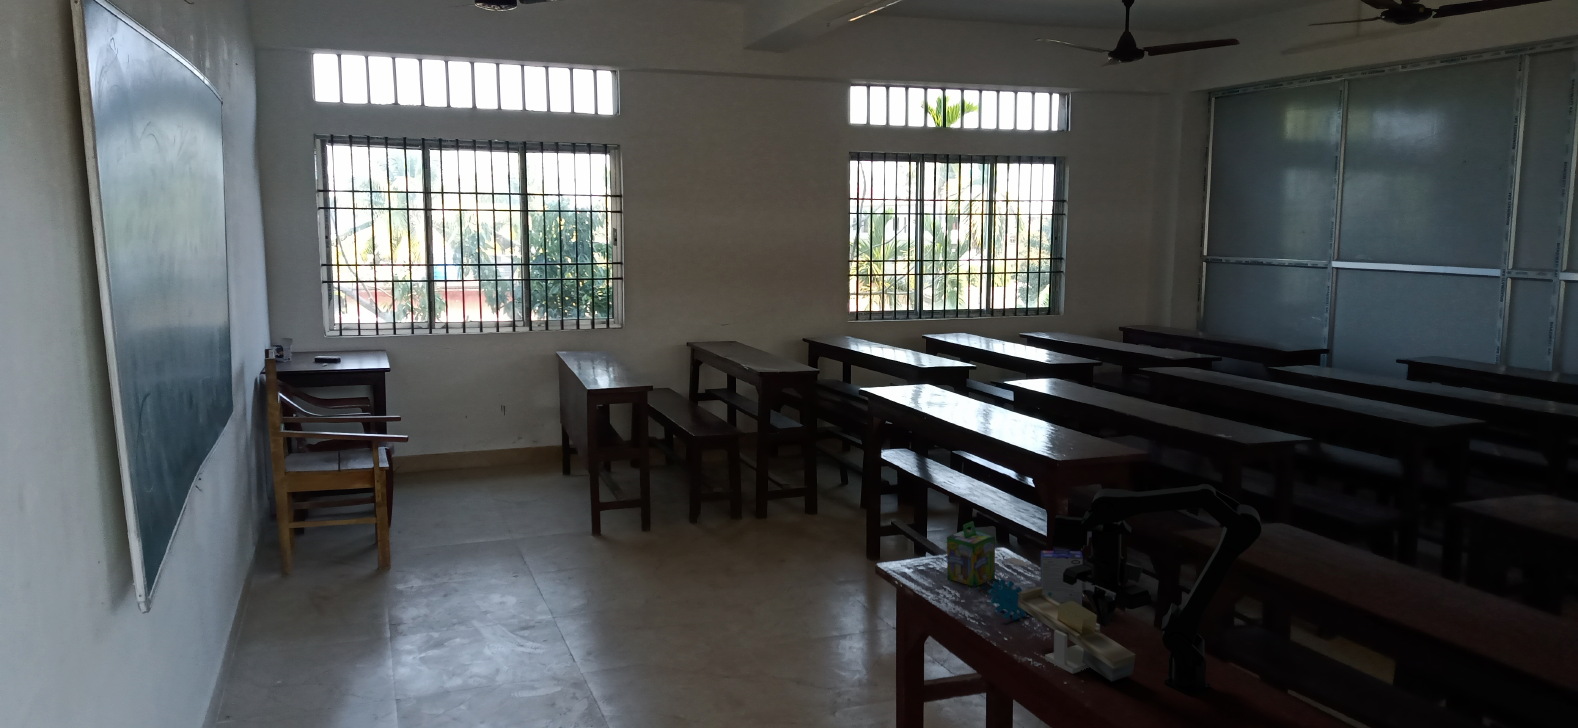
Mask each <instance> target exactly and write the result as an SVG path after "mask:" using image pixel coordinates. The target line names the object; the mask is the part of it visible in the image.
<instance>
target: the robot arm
mask: <svg viewBox="0 0 1578 728" xmlns="http://www.w3.org/2000/svg"><path fill="white" fill-rule="evenodd" d="M1197 509H1202V510H1204V511H1205V512H1207V514H1208V515H1210V516H1211V517H1213V519H1215V520H1216V521H1217V523H1219V524H1220V525H1221V526H1222V527H1223V529H1222V532H1221V534H1220V538H1219V539H1220V540H1219V542H1218V545H1217V546H1216V548H1215V549H1214V551H1213V552H1212V555H1211V556H1210V558H1209V559H1208V561H1207V563H1205V566H1204V568H1203V570H1202V571H1201V573H1200V575H1199V577H1198V578H1197V580H1196V581H1195V583H1194V585H1193V586H1192V588H1191V590H1190V591H1189V593H1188V595H1187V597H1186V598H1185V600H1184V601H1183V602H1182V603H1181V604H1179V605H1177V604H1175V603H1174V602H1171V604H1170V606H1169V609H1168V612H1167V613H1166V614H1165V615H1163V617H1162V622H1161V628H1160V629H1161V631H1162V637H1161V640H1162V644H1163V646H1164V647H1165V648H1166V649H1167V650H1168V651H1169V655H1170V656H1169V657H1168V665H1167V666H1168V667H1167V671H1168V672H1167V677H1168V678H1165V679H1164V680H1163V683H1164V684H1166V685H1167V686H1169V687H1172V688H1173V689H1175V690H1178V691H1180V692H1182V693H1184V694H1186V695H1189V696H1191V695H1194V694H1196V693H1197V694H1198V693H1199V692H1202V691H1204V690H1207V689H1209V688H1210V689H1211V688H1212V684H1211V683H1209V682H1207V661H1208V660H1207V659H1206V658H1205V639H1204V638H1203V637H1202V636H1201V635H1200V634H1199V633H1198V631H1199V628H1200V624H1201V621H1202V618H1203V615H1204V614H1205V612H1206V611H1207V609H1208V607H1209V605H1210V604H1211V602H1212V600H1213V599H1214V597H1215V595H1216V594H1217V592H1218V590H1219V589H1220V587H1221V586H1222V584H1223V582H1224V581H1225V578H1226V577H1227V576H1228V573H1229V572H1230V571H1231V569H1232V567H1233V566H1234V564H1235V562H1236V561H1237V559H1238V558H1239V557H1240V556H1241V555H1242V554H1244V553H1245V552H1246V551H1247V550H1248V549H1249V548H1250V547H1251V546H1252V545H1253V544H1254V543H1255V542H1256V541H1257V540H1258V539H1259V537H1260V536H1261V533H1262V523H1261V517H1260V515H1259V512H1258V511H1257V510H1256V508H1254V507H1253V506H1251V505H1248V504H1241V503H1240V502H1239V501H1237V500H1235V499H1234V498H1233V497H1230V496H1229V495H1227V494H1225V493H1223V492H1220V491H1219V490H1217V489H1216V488H1215V487H1214V486H1213V485H1211V484H1207V483H1201V484H1199V485H1193V486H1192V485H1191V486H1182V487H1174V488H1173V487H1172V488H1164V489H1155V490H1154V489H1153V490H1145V491H1143V490H1142V491H1133V490H1132V491H1131V490H1127V489H1122V488H1121V489H1120V488H1102V489H1100V490H1098V491H1097V492H1096V494H1095V495H1094V497H1093V500H1092V502H1091V505H1090V508H1089V509H1088V510H1087V511H1085V513H1084V516H1083V517H1079V516H1077V517H1076V516H1067V515H1062V514H1056V516H1055V518H1054V525H1053V526H1054V527H1053V529H1054V530H1053V534H1052V547H1053V549H1054V548H1055V549H1066V550H1070V551H1079V552H1082V551H1083V550H1084V549H1085V547H1088V546H1089V542H1090V533H1091V545H1090V546H1091V553H1090V555H1088V556H1086V562H1087V563H1090V566H1087V565H1085V564H1084V563H1083V564H1080V565H1077V566H1073V567H1069V568H1066V569H1065V571H1064V573H1063V582H1065V583H1067V584H1070V585H1074V584H1076V583H1077V579H1078V580H1081V581H1083V585H1085V589H1084V590H1083V593H1082V595H1085V597H1086V599H1087V601H1088V602H1089V604H1090V605H1091V607H1092V609H1093V611H1094V612H1095V613H1094V614H1096V615H1097V620H1099V623H1100V626H1102V627H1105V628H1106V627H1109V625H1110V623H1111V620H1112V618H1113V615H1114V613H1115V611H1116V608H1117V607H1118V606H1120V607H1122V608H1124V609H1128V610H1135V609H1138V608H1141V607H1144V606H1148V605H1151V604H1152V593H1151V592H1150V591H1149V590H1148V589H1146V588H1144V587H1142V586H1139V585H1136V584H1132V585H1128V586H1125V585H1122V584H1127V583H1129V581H1133V582H1135V583H1140V580H1141V577H1142V572H1143V568H1144V567H1141V566H1139V565H1137V564H1134V563H1131V562H1129V561H1127V559H1126V557H1124V556H1122V536H1123V535H1126V536H1130V534H1131V533H1132V526H1131V525H1129V524H1128V523H1127V522H1126V521H1125V520H1129V519H1130V518H1133V517H1135V516H1138V515H1143V514H1145V515H1146V514H1154V513H1155V514H1156V513H1166V512H1167V513H1168V512H1175V511H1176V512H1177V511H1187V510H1197Z"/></svg>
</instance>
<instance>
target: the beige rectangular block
mask: <svg viewBox="0 0 1578 728" xmlns="http://www.w3.org/2000/svg"><path fill="white" fill-rule="evenodd" d="M1057 620H1058V621H1059V622H1061V623H1063V624H1064V625H1066V626H1067V627H1069V628H1070V629H1072V630H1074V631H1075V632H1077V633H1078V634H1080V637H1083V636H1086V635H1089V634H1092V633H1095V629H1096V623H1097V620H1098V617H1097V615H1096V613H1094V612H1092V611H1090V610H1089V609H1087V608H1086V607H1084V606H1083V605H1082V606H1081V605H1079V604H1077V603H1076V602H1074V601H1070V602H1066V603H1063V604H1060V605H1059V608H1058V617H1057Z"/></svg>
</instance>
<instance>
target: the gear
mask: <svg viewBox="0 0 1578 728" xmlns="http://www.w3.org/2000/svg"><path fill="white" fill-rule="evenodd" d="M1005 585H1006V580H1005V579H1000V580H999V581H998V582H997V581H995V582H994V583H992V584H991V586H992V587H993V588H991V589H990V590H989V592H988V593H989V595H991V596H992V597H991V598H990V604H992V605H994V604H997V606H996V607H995V611H996V612H997V613H1001V612H1002V611H1004V610H1006V612H1004V613H1003V615H1002V616H1003V617H1004V618H1006V619H1009V618H1010V617H1011V618H1012V620H1015V621H1018V620H1019V619H1020V617H1021V618H1022V617H1024V616H1026V615H1027V614H1026V613H1027V612H1026V611H1024V610H1023V609H1021V608H1020V607H1018V598H1019V592H1021V591H1023V590H1022V587H1021V586H1018V587H1016V588H1015V589H1012V587H1014V586H1015V583H1014V582H1013V581H1011V580H1010V581H1008V582H1007V586H1005ZM999 586H1000V587H999ZM1011 612H1012V613H1013V615H1012V616H1011ZM1018 612H1019V613H1018Z"/></svg>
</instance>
